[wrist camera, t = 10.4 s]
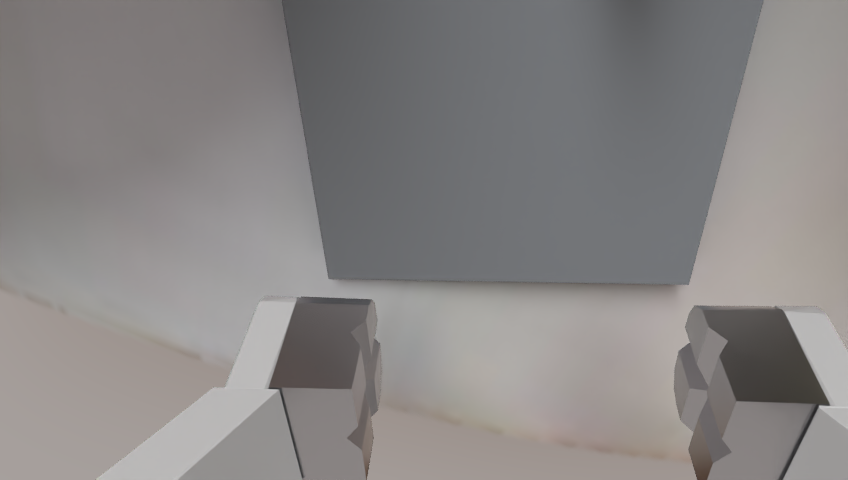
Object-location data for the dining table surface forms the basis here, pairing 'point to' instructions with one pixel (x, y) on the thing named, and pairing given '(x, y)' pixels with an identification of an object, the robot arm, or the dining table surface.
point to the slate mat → (516, 134)
